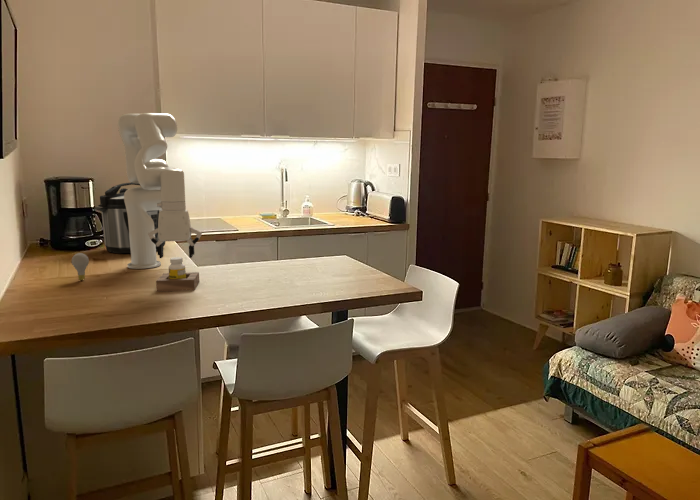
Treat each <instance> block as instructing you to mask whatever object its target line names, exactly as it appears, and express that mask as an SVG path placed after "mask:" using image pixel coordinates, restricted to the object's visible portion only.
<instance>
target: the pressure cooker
mask: <svg viewBox="0 0 700 500" xmlns="http://www.w3.org/2000/svg"><path fill="white" fill-rule="evenodd" d="M132 185H133V186H140V184H138V183H131V182H124V183H120V184H116V185H113V186H111V187H110V188H108V189H107V190H105V192H104V195H100V196H99V202H100V204H98V205H97V206H94V210H95V211H99V212H101V219H102V220H101V221H102V222H101V223H102V229H103V230H102V231H103V241H104V247H105V249H106V251H108V252H109V253H115V254H131V250H130V237H129V224H128V215H127V210H126V206H125V202H124V193H125V192H126V190H128V189H129V188H121V187H126V186H132ZM159 211H161V210H155V211H147V212H146V213H147V214H148V215H149V216H150V217H151V218H152V220H153V222H154V230H155V229H157V228H158V219H159ZM155 238H156V239H157V240H158V241H159V238H158V233H156V234H155ZM162 245H163V248H164V246H165V245H166V241H163V242H162ZM156 251H157V246H156Z"/></svg>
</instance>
